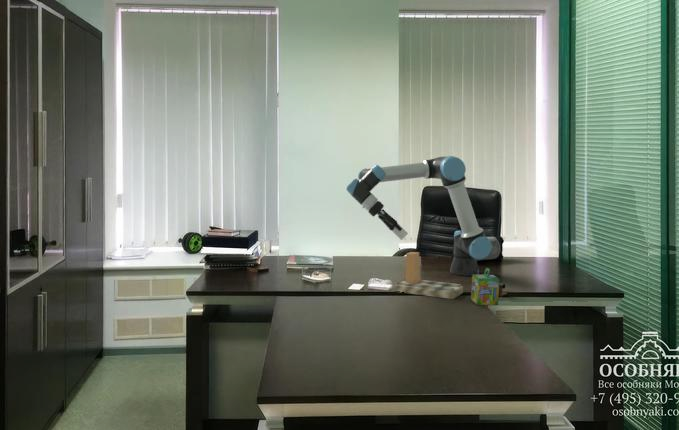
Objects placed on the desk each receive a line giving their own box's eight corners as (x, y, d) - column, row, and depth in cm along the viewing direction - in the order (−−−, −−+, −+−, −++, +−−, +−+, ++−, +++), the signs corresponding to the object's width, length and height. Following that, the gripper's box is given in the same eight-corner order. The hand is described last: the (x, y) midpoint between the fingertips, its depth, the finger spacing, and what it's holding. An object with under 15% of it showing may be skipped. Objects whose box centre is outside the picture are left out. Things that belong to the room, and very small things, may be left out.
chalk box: (470, 300, 250) (471, 266, 249) (491, 300, 251) (492, 266, 250) (477, 305, 241) (478, 270, 240) (498, 305, 242) (500, 270, 240)
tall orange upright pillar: (405, 283, 267) (406, 253, 266) (410, 281, 272) (411, 251, 271) (413, 284, 265) (414, 254, 264) (418, 282, 270) (419, 252, 269)
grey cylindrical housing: (450, 261, 345) (450, 236, 344) (487, 257, 358) (488, 233, 357) (466, 265, 332) (467, 239, 331) (504, 261, 345) (505, 236, 343)
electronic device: (502, 297, 256) (502, 280, 255) (483, 294, 263) (483, 277, 262) (507, 295, 259) (507, 279, 258) (488, 292, 266) (488, 276, 265)
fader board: (394, 291, 266) (394, 282, 266) (405, 286, 278) (405, 277, 277) (453, 299, 253) (453, 289, 252) (462, 293, 264) (462, 283, 264)
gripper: (366, 214, 291) (397, 244, 288) (368, 207, 266) (401, 240, 264) (377, 204, 291) (407, 234, 289) (379, 196, 267) (412, 228, 264)
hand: (404, 237), depth 276 cm, fingers open, 13 cm apart
